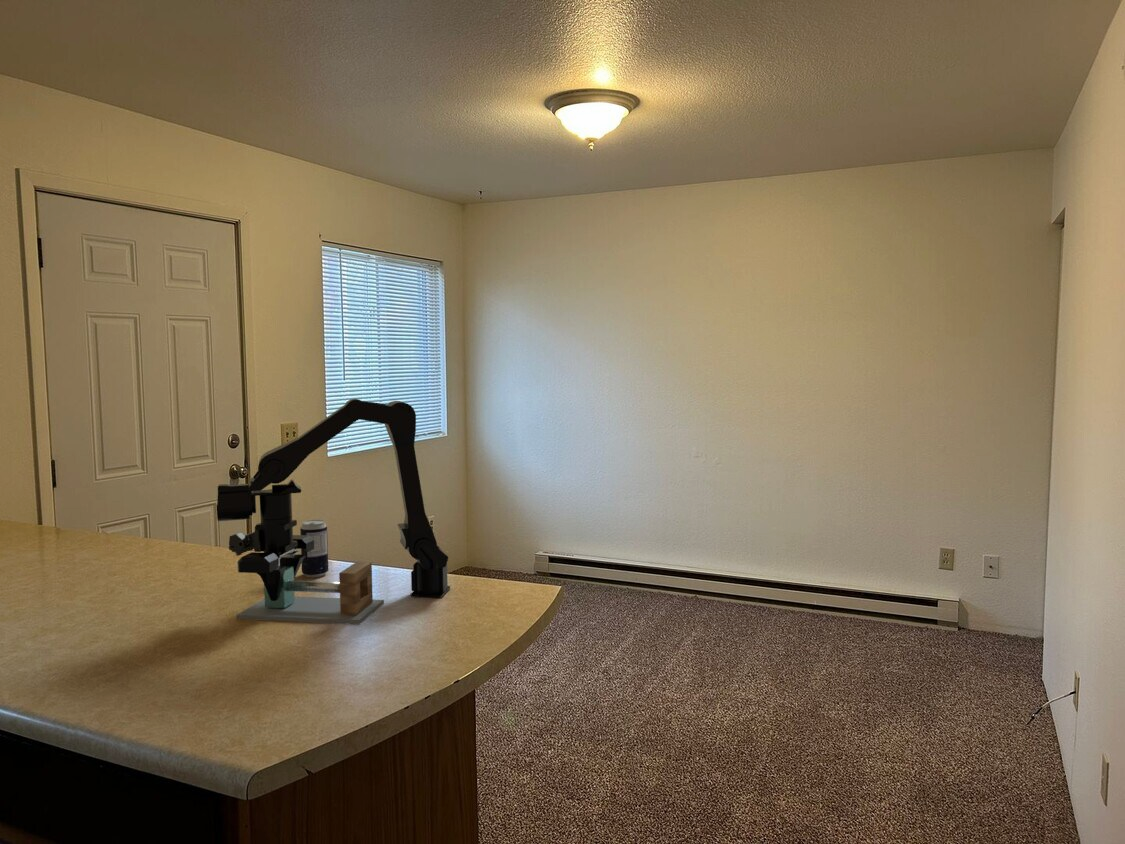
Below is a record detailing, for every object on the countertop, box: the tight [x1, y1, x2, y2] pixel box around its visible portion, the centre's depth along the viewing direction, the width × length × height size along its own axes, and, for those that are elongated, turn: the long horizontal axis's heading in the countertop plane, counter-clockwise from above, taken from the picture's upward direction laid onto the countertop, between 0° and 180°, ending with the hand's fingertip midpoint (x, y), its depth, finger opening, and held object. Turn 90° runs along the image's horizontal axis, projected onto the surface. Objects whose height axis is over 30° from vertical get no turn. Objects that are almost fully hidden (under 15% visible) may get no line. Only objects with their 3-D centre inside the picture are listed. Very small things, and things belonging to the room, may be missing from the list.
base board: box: [236, 595, 385, 625], centre depth 150 cm, size 24×12×1 cm, turn 82°
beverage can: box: [299, 519, 329, 579], centre depth 174 cm, size 6×6×12 cm
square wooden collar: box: [338, 561, 374, 616], centre depth 148 cm, size 3×8×8 cm, turn 172°
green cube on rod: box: [263, 566, 340, 608], centre depth 149 cm, size 17×4×7 cm, turn 82°
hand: (279, 597), depth 150 cm, fingers closed on green cube on rod, 4 cm apart
